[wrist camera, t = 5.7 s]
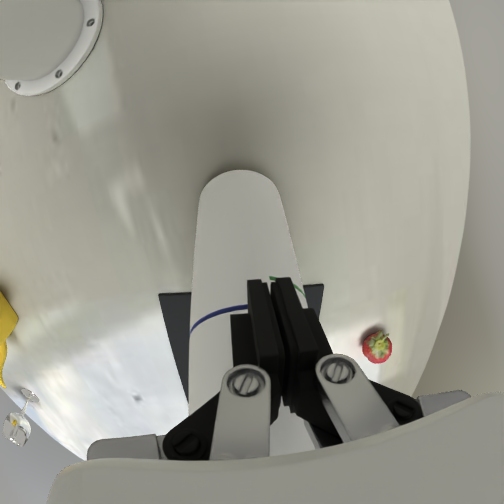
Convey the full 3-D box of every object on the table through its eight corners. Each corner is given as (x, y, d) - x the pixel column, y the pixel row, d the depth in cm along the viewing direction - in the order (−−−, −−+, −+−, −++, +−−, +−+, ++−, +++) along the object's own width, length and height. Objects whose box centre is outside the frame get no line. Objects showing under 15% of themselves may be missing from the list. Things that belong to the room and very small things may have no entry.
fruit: (358, 357, 38) (370, 382, 34) (356, 330, 35) (371, 356, 31) (383, 347, 38) (397, 370, 33) (384, 320, 35) (400, 344, 31)
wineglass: (39, 394, 38) (21, 441, 27) (43, 407, 40) (28, 451, 29) (16, 382, 36) (-4, 427, 25) (21, 396, 38) (5, 438, 28)
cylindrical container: (201, 166, 22) (195, 571, 4) (288, 174, 23) (376, 539, 6) (197, 232, 27) (198, 534, 10) (271, 237, 28) (316, 522, 11)
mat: (159, 293, 29) (158, 295, 29) (323, 283, 31) (324, 285, 31) (195, 422, 42) (195, 423, 42) (298, 414, 44) (298, 415, 43)
